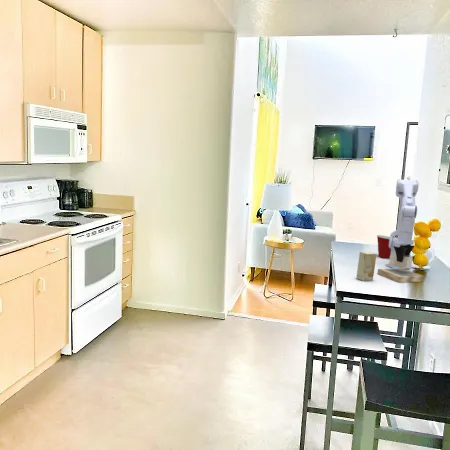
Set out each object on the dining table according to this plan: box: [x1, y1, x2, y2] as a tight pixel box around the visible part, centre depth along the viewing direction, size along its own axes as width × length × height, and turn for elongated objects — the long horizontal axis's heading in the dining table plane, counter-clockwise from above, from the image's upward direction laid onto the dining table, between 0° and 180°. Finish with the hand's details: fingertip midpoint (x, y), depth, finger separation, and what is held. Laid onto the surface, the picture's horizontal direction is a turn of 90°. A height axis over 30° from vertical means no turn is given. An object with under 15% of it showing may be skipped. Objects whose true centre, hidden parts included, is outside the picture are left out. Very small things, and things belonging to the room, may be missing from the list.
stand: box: [376, 267, 425, 284], centre depth 206 cm, size 14×14×3 cm
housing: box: [389, 253, 414, 268], centre depth 205 cm, size 4×8×6 cm, turn 43°
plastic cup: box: [376, 234, 391, 260], centre depth 248 cm, size 11×11×12 cm
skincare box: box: [355, 251, 377, 282], centre depth 197 cm, size 6×4×12 cm
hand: (402, 261), depth 205 cm, fingers closed on housing, 4 cm apart
